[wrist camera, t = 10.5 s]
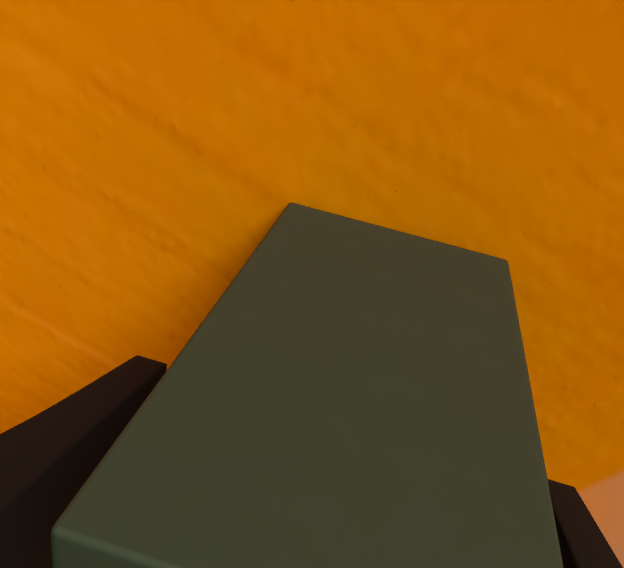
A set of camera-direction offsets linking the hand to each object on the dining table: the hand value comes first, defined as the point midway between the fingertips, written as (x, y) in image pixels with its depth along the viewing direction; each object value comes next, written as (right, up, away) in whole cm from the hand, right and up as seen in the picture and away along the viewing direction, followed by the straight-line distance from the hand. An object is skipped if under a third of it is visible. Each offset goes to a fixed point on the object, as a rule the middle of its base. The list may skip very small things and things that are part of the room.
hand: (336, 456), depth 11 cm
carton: (0, +2, -2) cm, 3 cm away
